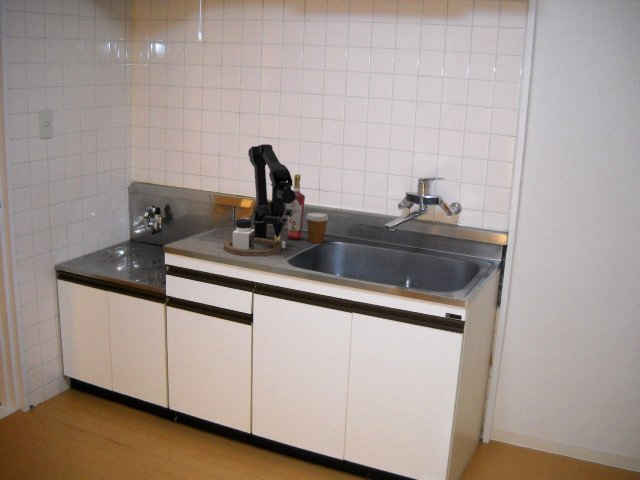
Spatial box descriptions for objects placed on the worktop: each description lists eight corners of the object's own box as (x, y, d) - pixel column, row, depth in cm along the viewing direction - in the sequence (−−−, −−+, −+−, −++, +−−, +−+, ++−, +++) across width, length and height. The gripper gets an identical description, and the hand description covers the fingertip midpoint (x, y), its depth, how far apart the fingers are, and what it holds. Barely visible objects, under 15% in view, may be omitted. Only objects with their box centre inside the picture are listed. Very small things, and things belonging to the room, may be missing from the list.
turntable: (219, 242, 303) (219, 229, 302) (272, 240, 311) (273, 227, 309) (230, 256, 282) (230, 243, 281) (287, 254, 290) (288, 241, 288)
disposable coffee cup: (328, 244, 309) (330, 217, 306) (306, 244, 307) (307, 216, 304) (324, 239, 318) (326, 212, 315) (303, 239, 316) (304, 212, 313)
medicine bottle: (249, 250, 294) (249, 221, 291) (232, 248, 295) (232, 219, 292) (254, 246, 300) (254, 217, 297) (237, 244, 302) (238, 216, 299)
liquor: (284, 239, 313) (287, 175, 306) (288, 235, 320) (290, 173, 313) (301, 241, 312) (304, 176, 305) (304, 237, 319) (307, 174, 312)
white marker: (282, 248, 299) (282, 242, 299) (280, 246, 301) (281, 240, 301) (285, 248, 300) (285, 242, 299) (283, 246, 302) (283, 240, 301)
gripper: (268, 193, 304) (267, 229, 308) (251, 200, 286) (250, 238, 290) (293, 196, 301) (292, 232, 304) (277, 203, 283) (276, 242, 287)
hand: (277, 236), depth 297 cm, fingers closed
